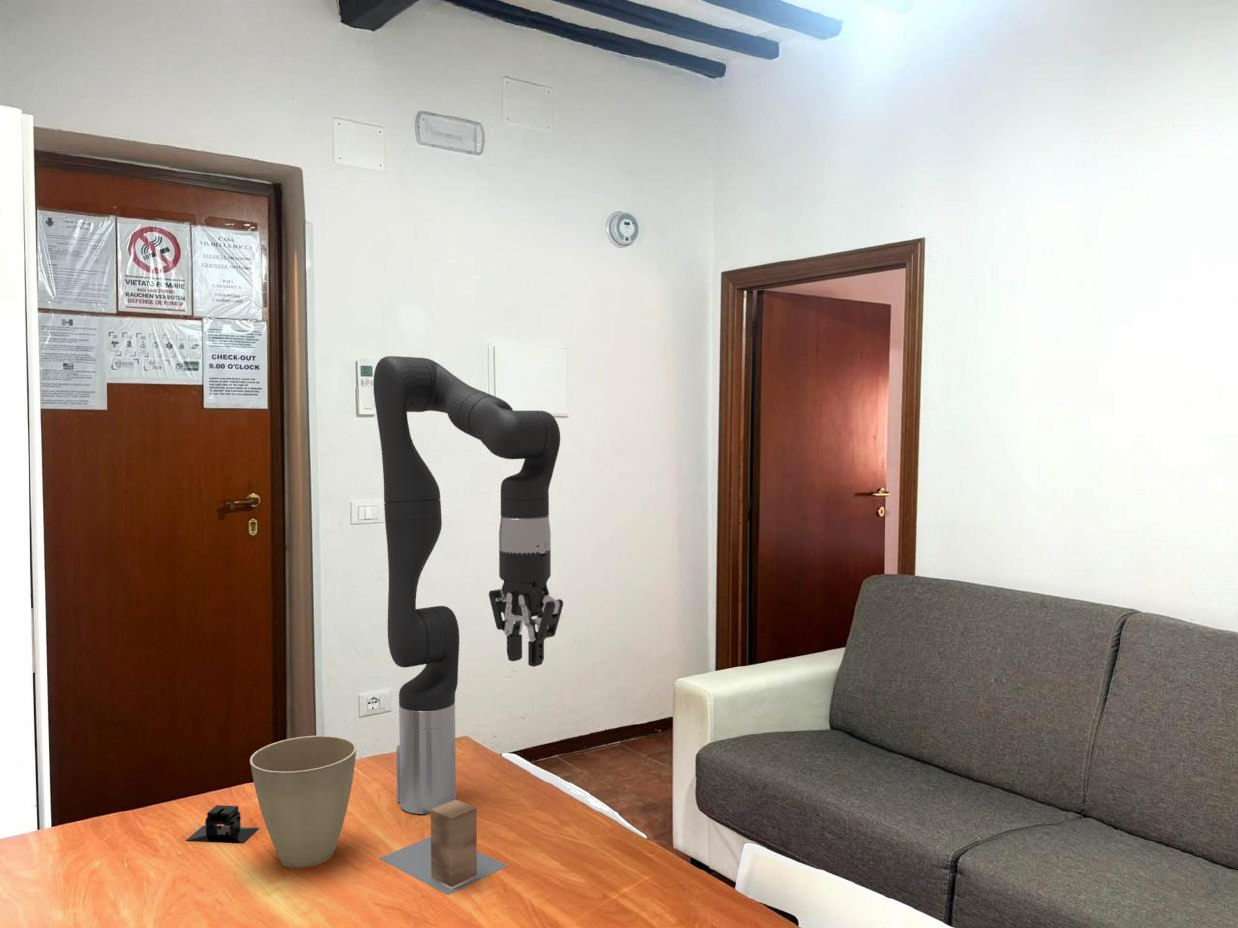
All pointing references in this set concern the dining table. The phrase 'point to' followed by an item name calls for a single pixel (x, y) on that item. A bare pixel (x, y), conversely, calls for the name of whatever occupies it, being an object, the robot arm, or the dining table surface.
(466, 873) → the walnut block
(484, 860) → the rubber mat
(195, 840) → the slotted block on plate
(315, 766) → the plant pot
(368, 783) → the dining table surface
